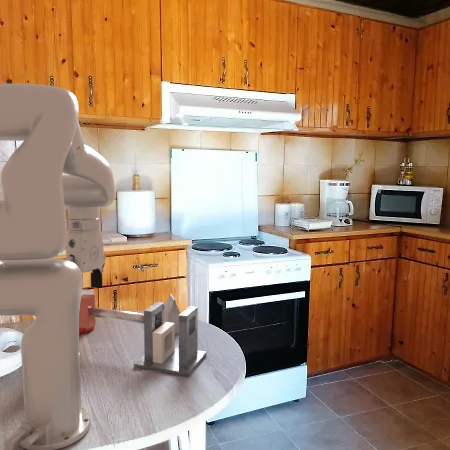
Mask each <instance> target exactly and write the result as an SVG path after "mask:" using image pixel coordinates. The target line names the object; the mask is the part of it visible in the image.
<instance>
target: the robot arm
mask: <svg viewBox="0 0 450 450" xmlns="http://www.w3.org/2000/svg"><path fill="white" fill-rule="evenodd" d="M79 110H80V109H79V103H78V100H77V97H76V95H75V94H74V93H73V92H71V91H70V90H68V89H65V88H63V87H59V86H54V85H48V84H36V83H31V84H30V83H0V141H10V142H11V141H13V142H15V141H17V142H20V141H21V144H20V145H19V146H18V147H17V148H16V149H15V150H14V152H12V154H11V155H10V157H9V158H8V159H7V161H6V162H5V164H4V166H3V168H2V169H1V173H0V182H1V187H2V193H3V194H2V195H3V200H0V317H1V316H2V317H3V316H4V317H5V316H33V317H35V320H33V321H32V322H31V324H30V325H29V326H28V327H27V328H26V330H25V331H24V334H23V335H22V337H21V341H20V354H21V371H22V372H21V373H22V389H23V390H22V393H23V394H22V395H23V408H24V409H23V410H24V415H23V416H22V417H21V418H19V419H20V422H19V424H18V425H17V426H16V430H15V432H14V433H12V434H10V435H9V436H8V437H7V438H6V439H5V440H4V441H3V446H4V448H5V449H6V450H13V449H15V448H16V447H17V446H20V447H22V449H25V450H59V449H62V448H66V447H68V446H71V445H72V444H74V443H75V442H78V441H79V440H80V439H82V438H83V437H84V436H85V435H86V434H87V432H88V431H89V430H90V427H91V425H92V419H91V418H92V417H91V415H90V412H88V411H87V409H85V408H83V407H82V388H81V387H82V383H81V382H82V381H81V359H80V358H81V355H80V354H81V353H80V334H79V310H80V301H81V293H82V289H83V284H84V283H83V273H85V274H86V273H88V272H90V287H91V288H95V289H102V288H103V272H104V267H105V265H106V257H107V255H106V253H104V241H103V236H102V235H103V234H102V231H101V229H100V208H107V207H109V206H111V205H112V204H113V203H114V200H115V198H116V197H115V196H116V185H115V181H114V176H113V170H112V167H111V165H110V163H109V162H108V161H107V160H106V159H105V157H103V156H102V155H101V154H99V153H98V152H97V151H95V150H94V149H93V148H91V147H90V146H88V145H86V144H85V142H84V138H83V134H82V130H81V126H80V125H81V124H80V122H79ZM63 173H64V174H63ZM66 208H67V212H66ZM66 213H67V214H66ZM63 252H65V259H64V258H57V257H58V256H60V255H61V254H62V253H63Z"/></svg>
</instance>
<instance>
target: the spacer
mask: <svg viewBox="0 0 450 450" xmlns="http://www.w3.org/2000/svg"><path fill="white" fill-rule="evenodd" d="M175 336H176V334H175V323H170V322H165V323H164V324H163V325H161V326H160V327H159V328H158V329H156V330H155V331H154V332H153V362H156V363H163V362H164V361H165V360H166V359H167V358H168V357H169V356H170V355H171V354H172V353H173V352H174V351H175V347H176V345H175V344H176V340H175V339H176V338H175Z"/></svg>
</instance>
